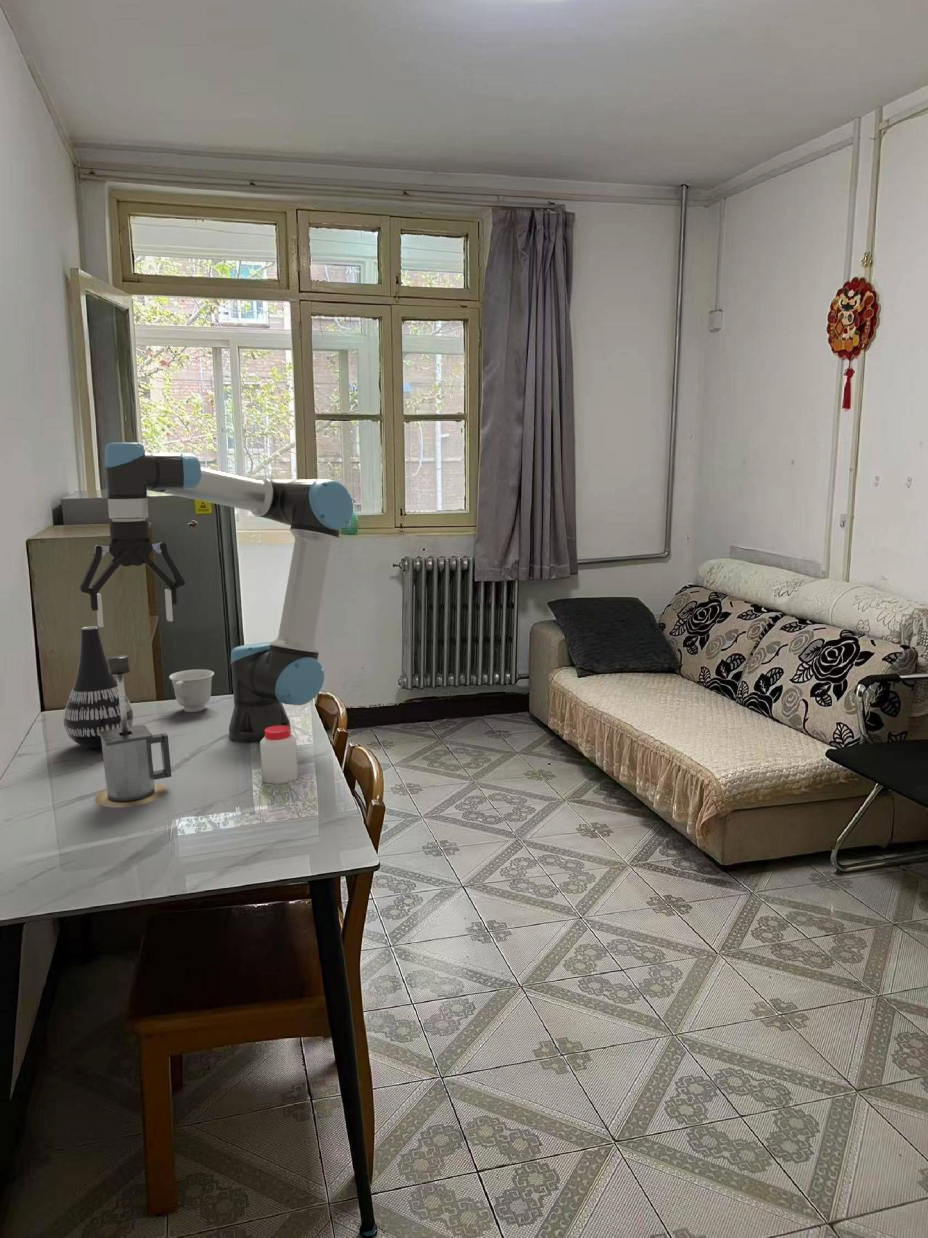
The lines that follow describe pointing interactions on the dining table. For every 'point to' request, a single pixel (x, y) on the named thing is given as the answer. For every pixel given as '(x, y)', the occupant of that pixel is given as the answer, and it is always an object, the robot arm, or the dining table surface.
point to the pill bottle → (279, 755)
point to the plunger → (120, 684)
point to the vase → (93, 695)
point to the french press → (132, 763)
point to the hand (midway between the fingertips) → (135, 623)
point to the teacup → (192, 688)
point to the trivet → (104, 801)
